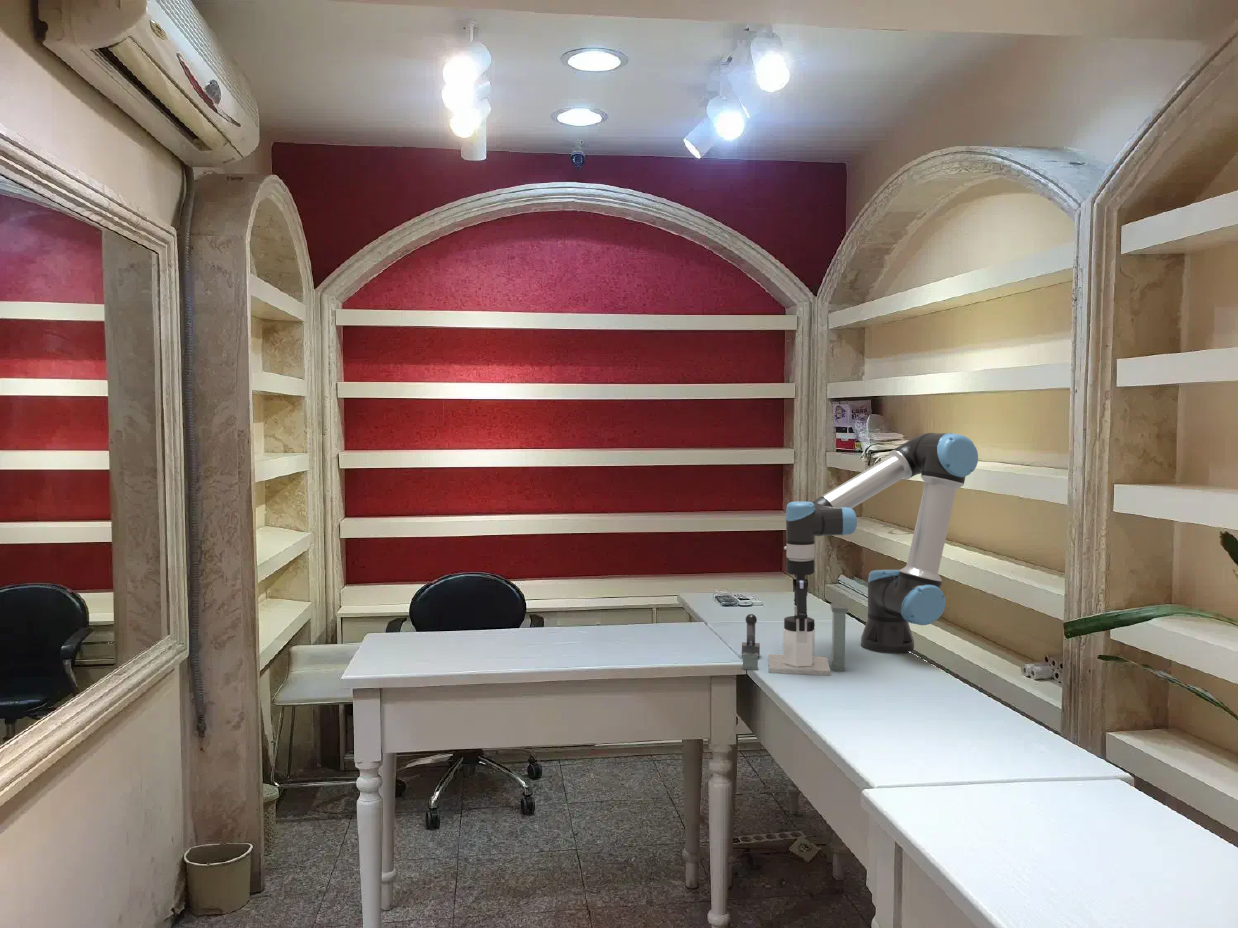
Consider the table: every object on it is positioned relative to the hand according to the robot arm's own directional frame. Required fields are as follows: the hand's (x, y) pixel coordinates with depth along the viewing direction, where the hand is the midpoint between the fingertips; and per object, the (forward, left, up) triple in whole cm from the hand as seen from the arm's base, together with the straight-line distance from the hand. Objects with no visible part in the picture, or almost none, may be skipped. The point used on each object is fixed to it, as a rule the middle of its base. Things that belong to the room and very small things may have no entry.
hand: (800, 636), depth 239 cm
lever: (+13, -8, -7) cm, 17 cm away
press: (+2, -1, -8) cm, 9 cm away
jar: (0, 0, -7) cm, 7 cm away
